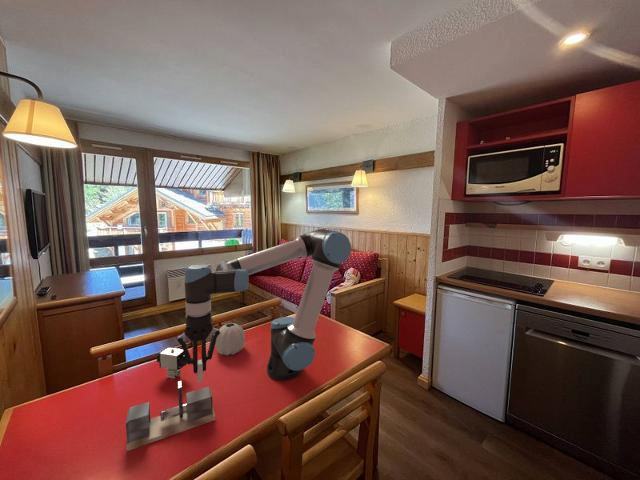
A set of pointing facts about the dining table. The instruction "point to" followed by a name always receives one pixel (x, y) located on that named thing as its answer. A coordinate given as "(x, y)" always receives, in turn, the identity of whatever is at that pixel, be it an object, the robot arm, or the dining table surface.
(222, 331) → the vase
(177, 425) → the base
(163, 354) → the pneumatic valve
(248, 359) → the dining table surface
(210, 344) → the robot arm
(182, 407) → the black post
